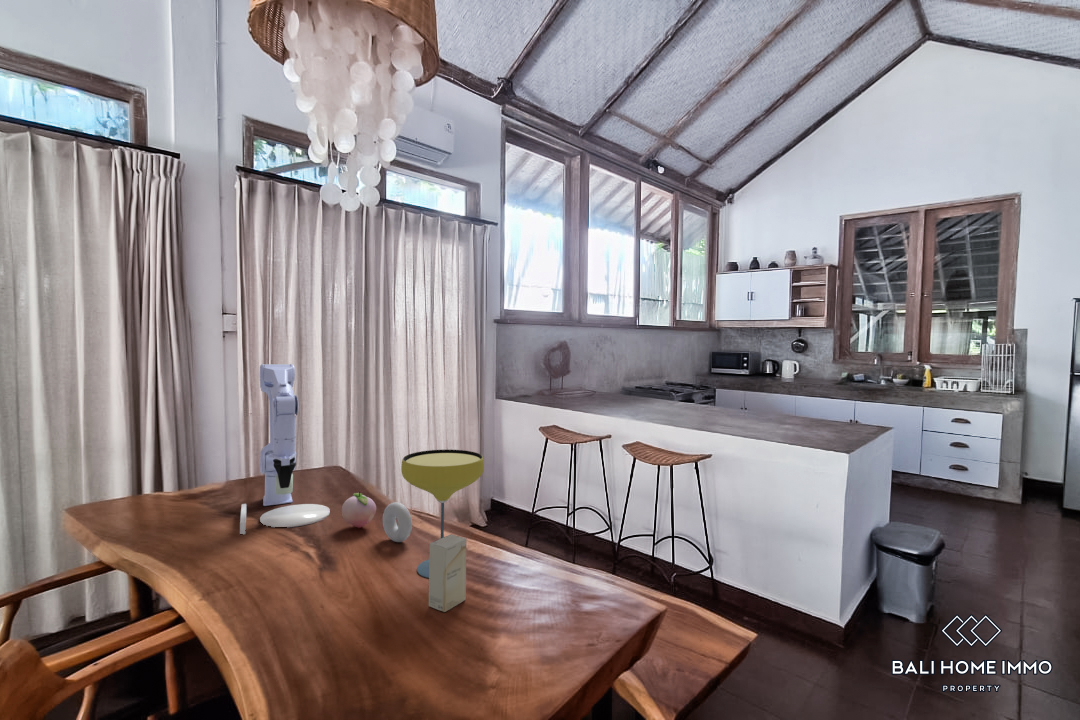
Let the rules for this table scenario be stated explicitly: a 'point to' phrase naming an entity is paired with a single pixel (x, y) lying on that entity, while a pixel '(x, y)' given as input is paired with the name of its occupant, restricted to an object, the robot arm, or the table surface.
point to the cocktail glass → (441, 477)
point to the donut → (404, 522)
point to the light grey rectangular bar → (243, 519)
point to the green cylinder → (283, 490)
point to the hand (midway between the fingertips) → (284, 485)
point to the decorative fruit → (358, 510)
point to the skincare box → (447, 572)
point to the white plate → (295, 515)
